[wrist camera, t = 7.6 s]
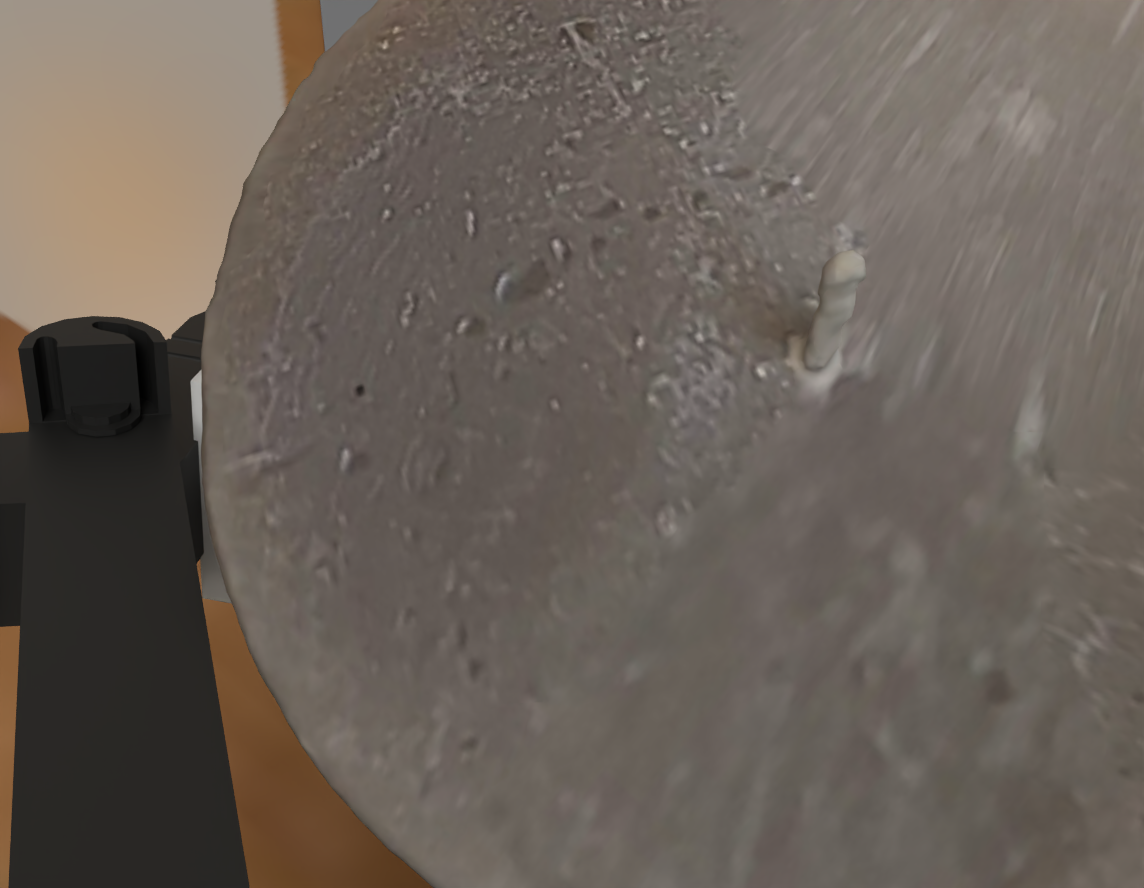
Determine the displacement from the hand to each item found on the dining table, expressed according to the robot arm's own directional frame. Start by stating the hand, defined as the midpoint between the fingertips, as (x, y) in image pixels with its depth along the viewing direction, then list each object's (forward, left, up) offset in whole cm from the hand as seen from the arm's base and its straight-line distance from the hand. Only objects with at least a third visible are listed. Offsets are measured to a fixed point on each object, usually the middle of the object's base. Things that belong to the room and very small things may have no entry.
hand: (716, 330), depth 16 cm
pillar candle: (+1, +3, -6) cm, 7 cm away
